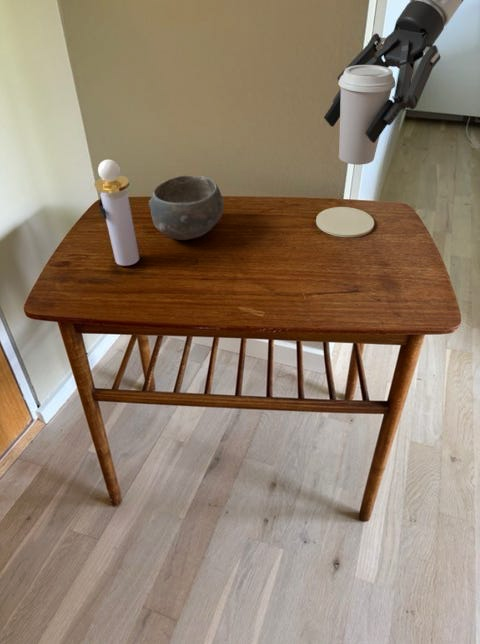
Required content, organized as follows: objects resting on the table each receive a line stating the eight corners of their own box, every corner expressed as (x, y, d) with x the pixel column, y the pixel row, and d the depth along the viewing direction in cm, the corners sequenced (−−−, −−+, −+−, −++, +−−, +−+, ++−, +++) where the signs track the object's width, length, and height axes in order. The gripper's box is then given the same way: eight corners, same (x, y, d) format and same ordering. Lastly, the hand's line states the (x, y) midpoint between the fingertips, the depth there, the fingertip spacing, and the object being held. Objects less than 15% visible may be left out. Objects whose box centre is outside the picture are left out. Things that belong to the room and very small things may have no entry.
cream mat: (385, 222, 102) (385, 220, 101) (350, 244, 95) (350, 241, 95) (339, 204, 108) (339, 201, 108) (304, 223, 102) (304, 220, 102)
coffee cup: (326, 165, 89) (335, 76, 79) (334, 146, 96) (343, 62, 86) (380, 170, 87) (396, 80, 77) (384, 150, 93) (399, 65, 84)
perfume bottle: (141, 252, 95) (123, 151, 82) (144, 268, 91) (126, 165, 77) (112, 256, 94) (88, 155, 81) (113, 272, 90) (89, 169, 76)
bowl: (234, 221, 103) (233, 177, 97) (204, 259, 92) (200, 212, 86) (176, 211, 107) (171, 167, 101) (141, 246, 96) (132, 200, 90)
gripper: (489, 41, 78) (404, 160, 82) (384, 22, 92) (316, 125, 96) (479, 6, 72) (388, 136, 76) (369, -9, 86) (297, 102, 90)
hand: (348, 129), depth 86 cm, fingers closed on coffee cup, 9 cm apart
